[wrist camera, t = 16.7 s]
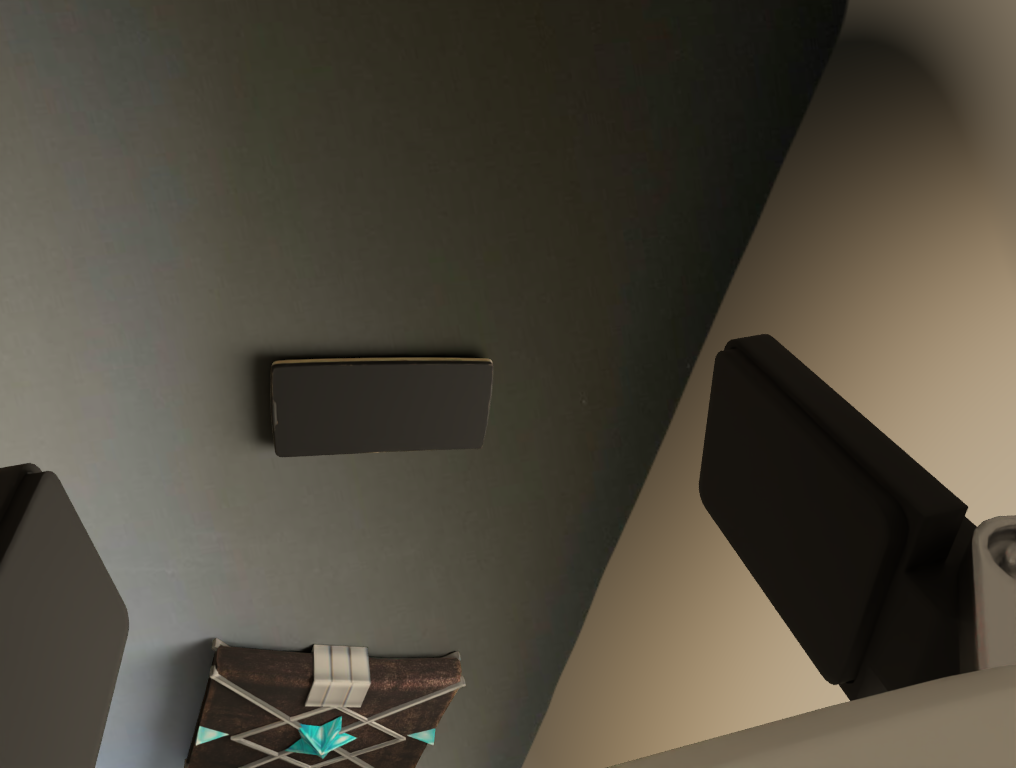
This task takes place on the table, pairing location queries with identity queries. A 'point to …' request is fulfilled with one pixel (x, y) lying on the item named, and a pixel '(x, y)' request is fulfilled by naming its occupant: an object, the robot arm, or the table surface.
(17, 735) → the robot arm
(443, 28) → the table surface
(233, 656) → the book
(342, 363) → the smartphone
